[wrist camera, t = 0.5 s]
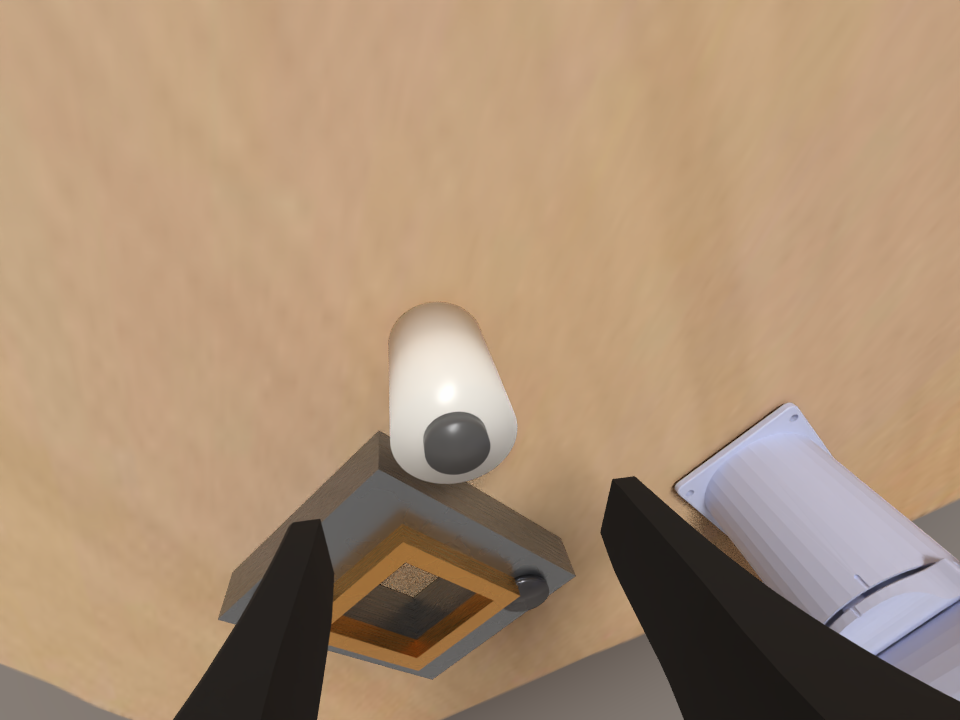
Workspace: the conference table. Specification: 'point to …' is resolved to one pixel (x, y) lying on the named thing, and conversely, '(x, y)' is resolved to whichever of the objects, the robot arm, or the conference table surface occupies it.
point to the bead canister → (446, 397)
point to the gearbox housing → (415, 564)
